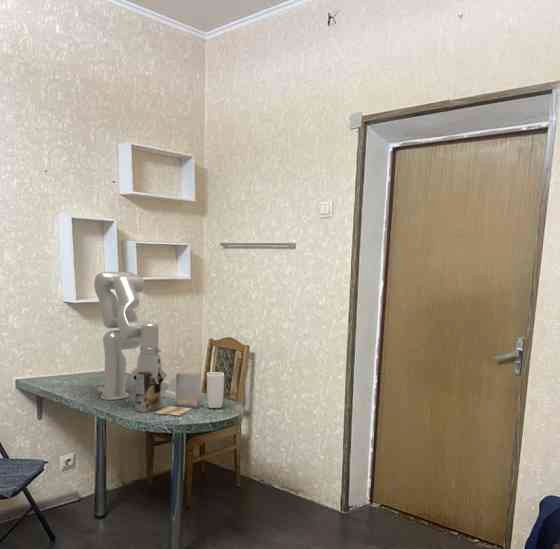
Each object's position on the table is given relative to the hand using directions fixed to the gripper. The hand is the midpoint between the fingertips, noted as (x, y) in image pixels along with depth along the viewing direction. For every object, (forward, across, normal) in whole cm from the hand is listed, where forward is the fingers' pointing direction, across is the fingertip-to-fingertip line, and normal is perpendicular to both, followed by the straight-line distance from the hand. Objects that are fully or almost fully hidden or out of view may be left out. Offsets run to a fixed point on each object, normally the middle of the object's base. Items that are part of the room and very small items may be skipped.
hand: (148, 391), depth 209 cm
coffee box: (+8, 0, 0) cm, 8 cm away
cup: (+8, -26, -12) cm, 30 cm away
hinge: (+8, -2, -24) cm, 26 cm away
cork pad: (+8, -12, 0) cm, 14 cm away
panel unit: (+8, -14, -10) cm, 19 cm away
